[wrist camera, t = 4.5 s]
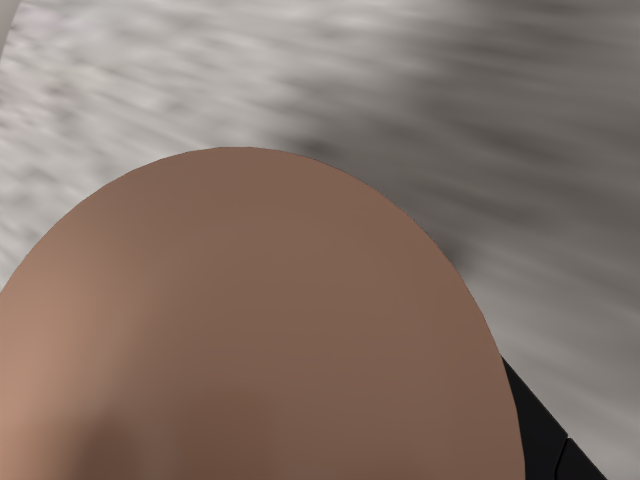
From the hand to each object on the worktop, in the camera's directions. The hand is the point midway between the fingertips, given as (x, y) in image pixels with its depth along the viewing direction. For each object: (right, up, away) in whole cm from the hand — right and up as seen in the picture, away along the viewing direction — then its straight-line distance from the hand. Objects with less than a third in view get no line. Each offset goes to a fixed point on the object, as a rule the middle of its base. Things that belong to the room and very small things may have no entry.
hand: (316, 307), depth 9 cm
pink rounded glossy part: (+1, -3, +6) cm, 7 cm away
